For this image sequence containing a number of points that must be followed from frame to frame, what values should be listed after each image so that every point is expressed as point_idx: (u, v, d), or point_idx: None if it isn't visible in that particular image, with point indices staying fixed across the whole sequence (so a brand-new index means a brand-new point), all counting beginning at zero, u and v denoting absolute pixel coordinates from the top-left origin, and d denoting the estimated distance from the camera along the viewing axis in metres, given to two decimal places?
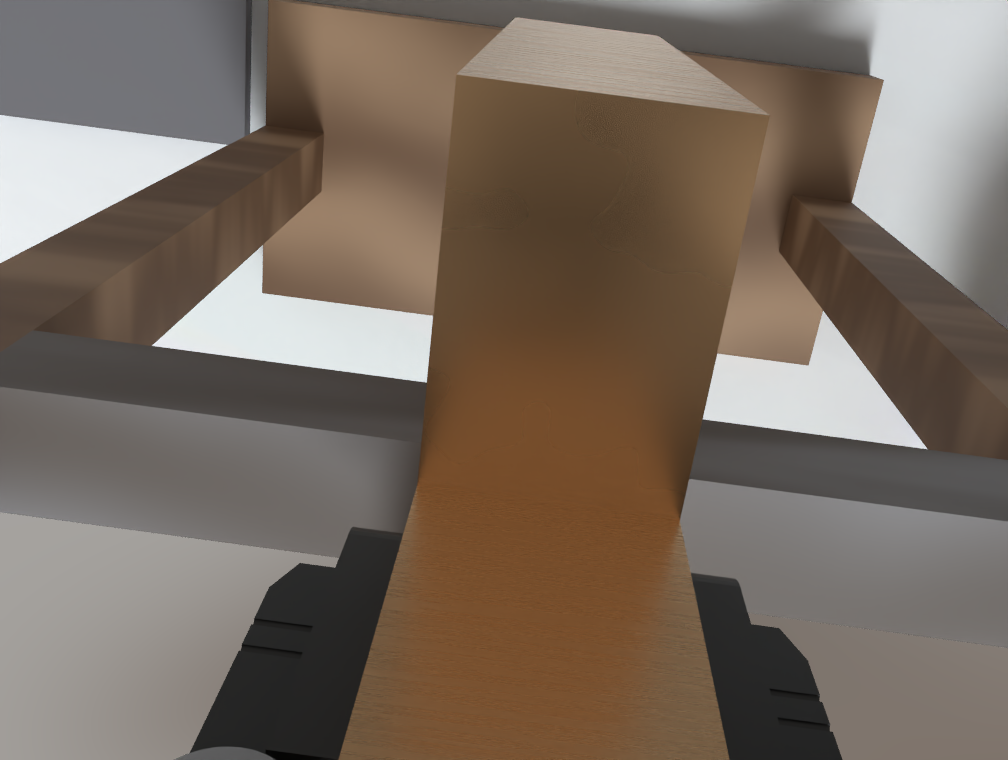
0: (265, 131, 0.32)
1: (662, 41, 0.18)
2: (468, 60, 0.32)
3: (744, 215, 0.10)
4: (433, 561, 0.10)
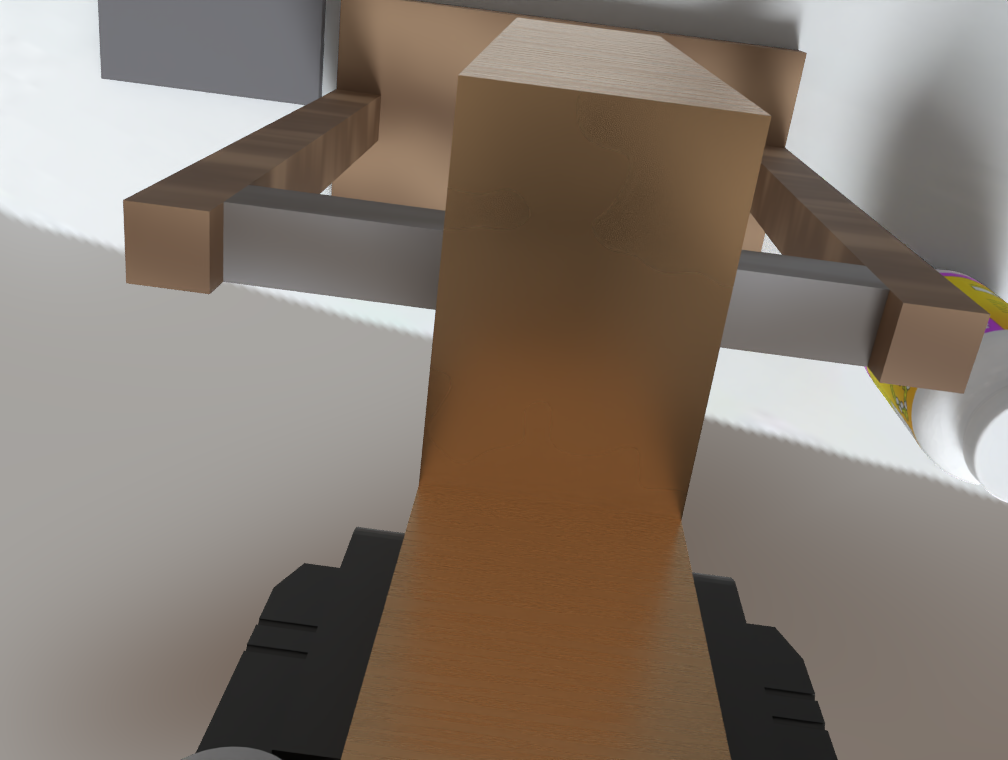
0: (338, 92, 0.42)
1: (663, 41, 0.18)
2: (492, 38, 0.42)
3: (745, 216, 0.10)
4: (434, 560, 0.10)
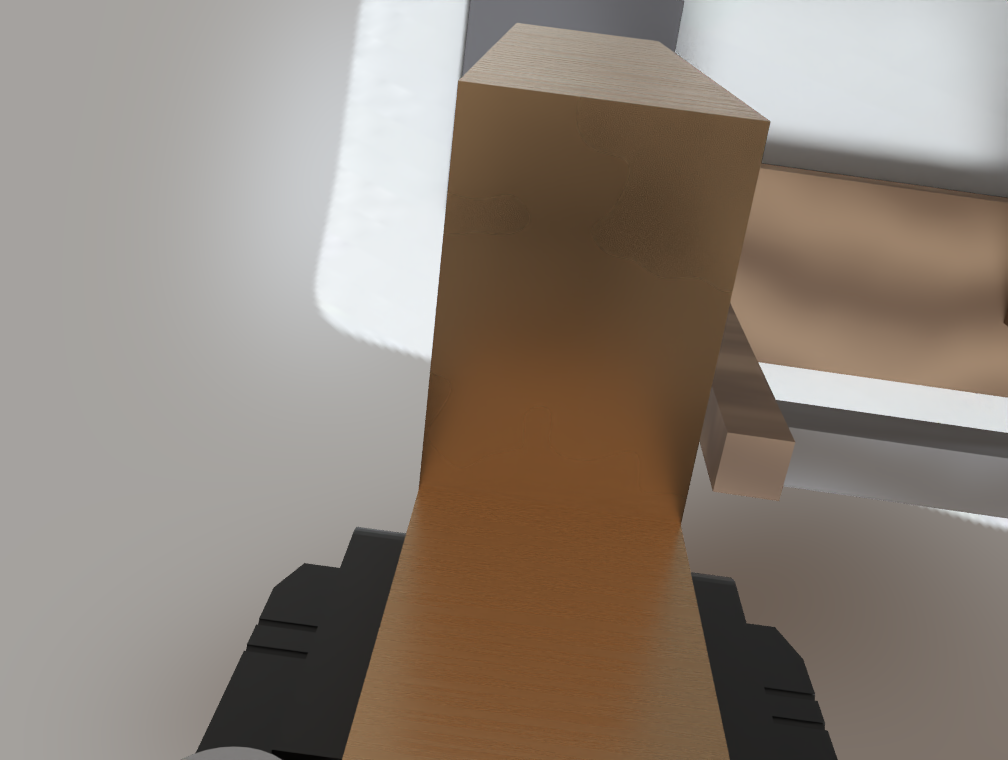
0: None
1: (662, 47, 0.18)
2: (807, 196, 0.48)
3: (743, 221, 0.10)
4: (435, 564, 0.10)
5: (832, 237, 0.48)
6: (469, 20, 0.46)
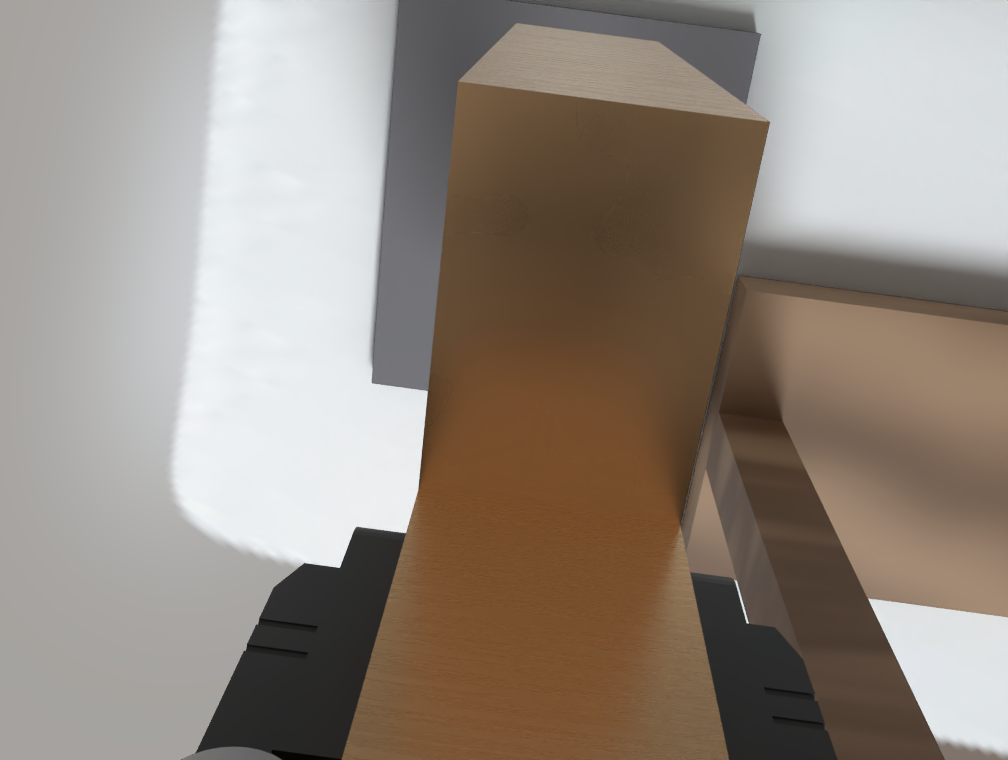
0: (734, 428, 0.29)
1: (662, 47, 0.18)
2: (959, 353, 0.29)
3: (743, 221, 0.10)
4: (435, 565, 0.10)
5: (998, 415, 0.30)
6: (396, 68, 0.27)
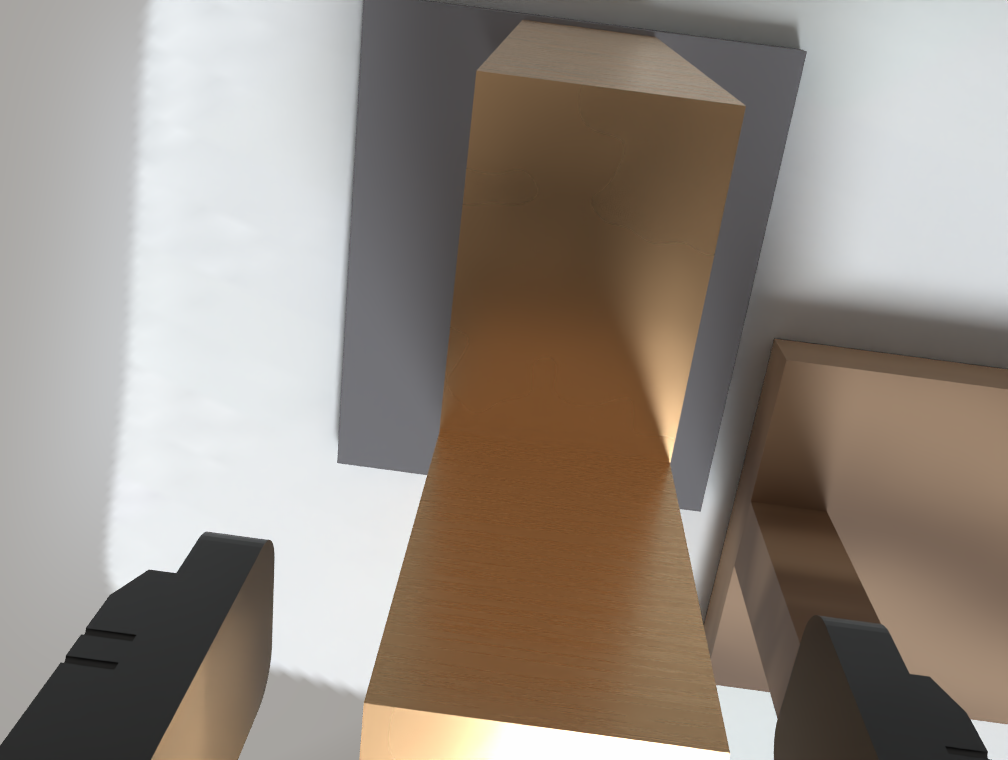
0: (770, 525, 0.24)
1: (659, 42, 0.20)
2: None
3: (724, 193, 0.11)
4: (456, 490, 0.11)
5: None
6: (360, 93, 0.23)
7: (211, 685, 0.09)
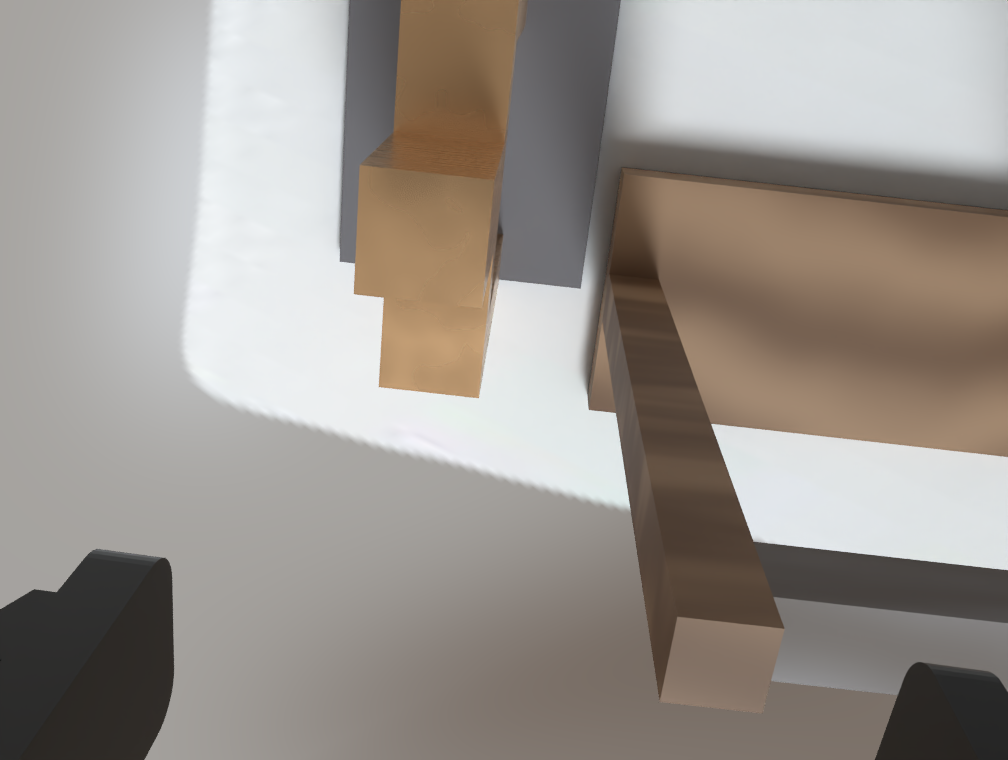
0: (618, 282, 0.38)
1: None
2: (790, 220, 0.38)
3: (516, 4, 0.25)
4: (399, 141, 0.25)
5: (823, 270, 0.38)
6: (350, 7, 0.36)
7: (81, 715, 0.08)
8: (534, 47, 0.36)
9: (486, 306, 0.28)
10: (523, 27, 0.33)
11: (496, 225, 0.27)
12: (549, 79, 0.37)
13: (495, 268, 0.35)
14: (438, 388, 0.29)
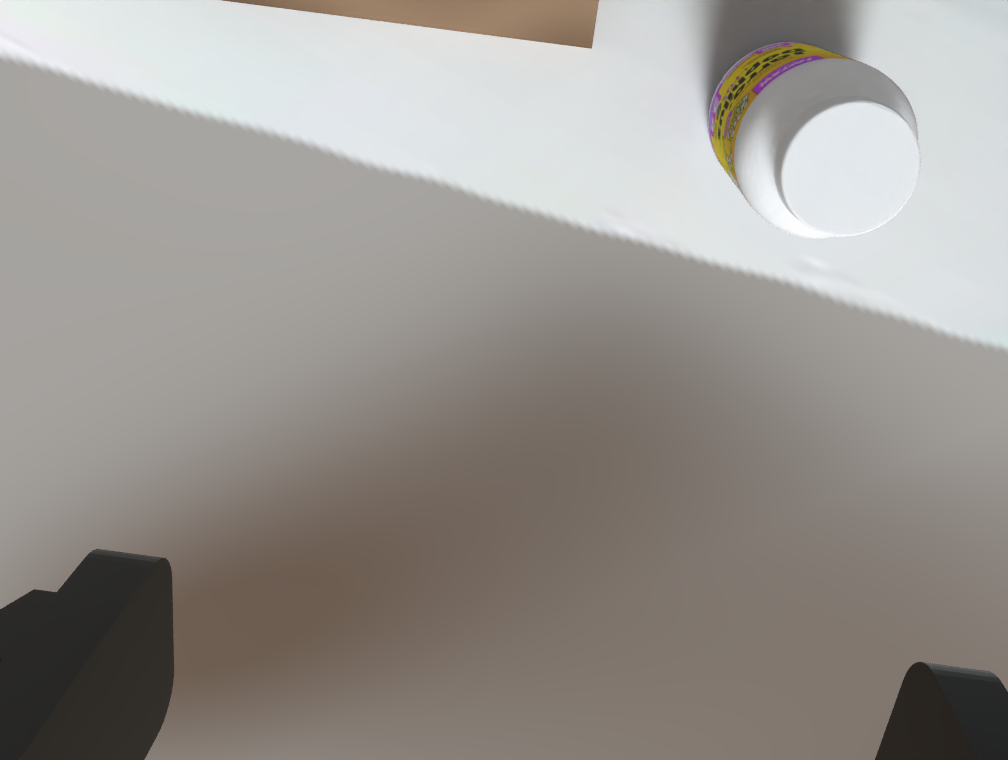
0: None
1: None
2: None
3: None
4: None
5: None
6: None
7: (81, 715, 0.08)
8: None
9: None
10: None
11: None
12: None
13: None
14: None
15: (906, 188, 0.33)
